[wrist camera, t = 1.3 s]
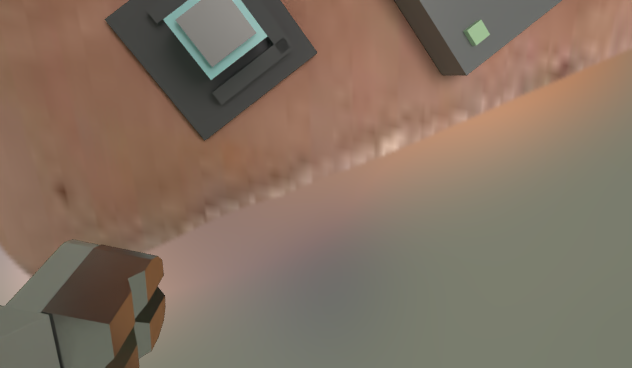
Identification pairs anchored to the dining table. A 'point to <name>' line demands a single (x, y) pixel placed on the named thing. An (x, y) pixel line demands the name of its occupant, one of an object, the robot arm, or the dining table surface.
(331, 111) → the dining table surface
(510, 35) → the port
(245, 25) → the plug
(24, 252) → the dining table surface
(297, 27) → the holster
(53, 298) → the robot arm
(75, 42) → the dining table surface
